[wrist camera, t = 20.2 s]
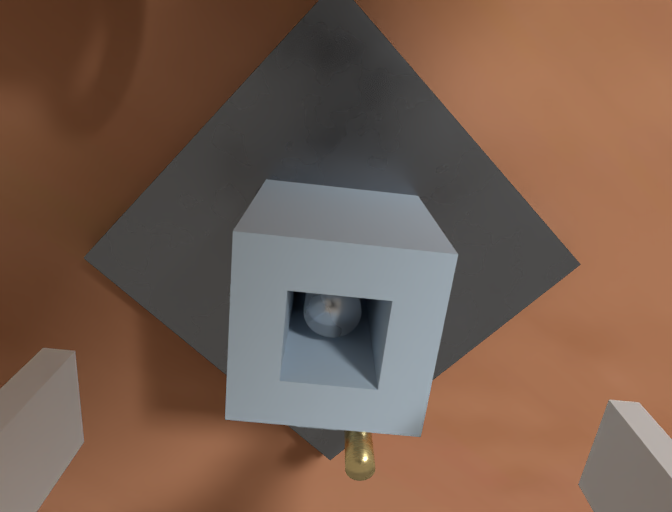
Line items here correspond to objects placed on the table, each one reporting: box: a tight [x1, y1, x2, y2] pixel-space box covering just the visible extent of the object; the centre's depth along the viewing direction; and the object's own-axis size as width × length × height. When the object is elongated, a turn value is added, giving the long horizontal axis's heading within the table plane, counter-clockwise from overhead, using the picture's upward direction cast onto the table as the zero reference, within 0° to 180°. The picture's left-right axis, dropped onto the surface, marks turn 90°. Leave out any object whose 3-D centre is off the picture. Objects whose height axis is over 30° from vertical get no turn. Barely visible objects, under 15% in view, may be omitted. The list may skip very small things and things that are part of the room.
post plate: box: [84, 0, 581, 481], centre depth 22 cm, size 17×17×6 cm
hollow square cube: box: [225, 179, 458, 437], centre depth 21 cm, size 12×7×8 cm, turn 174°
